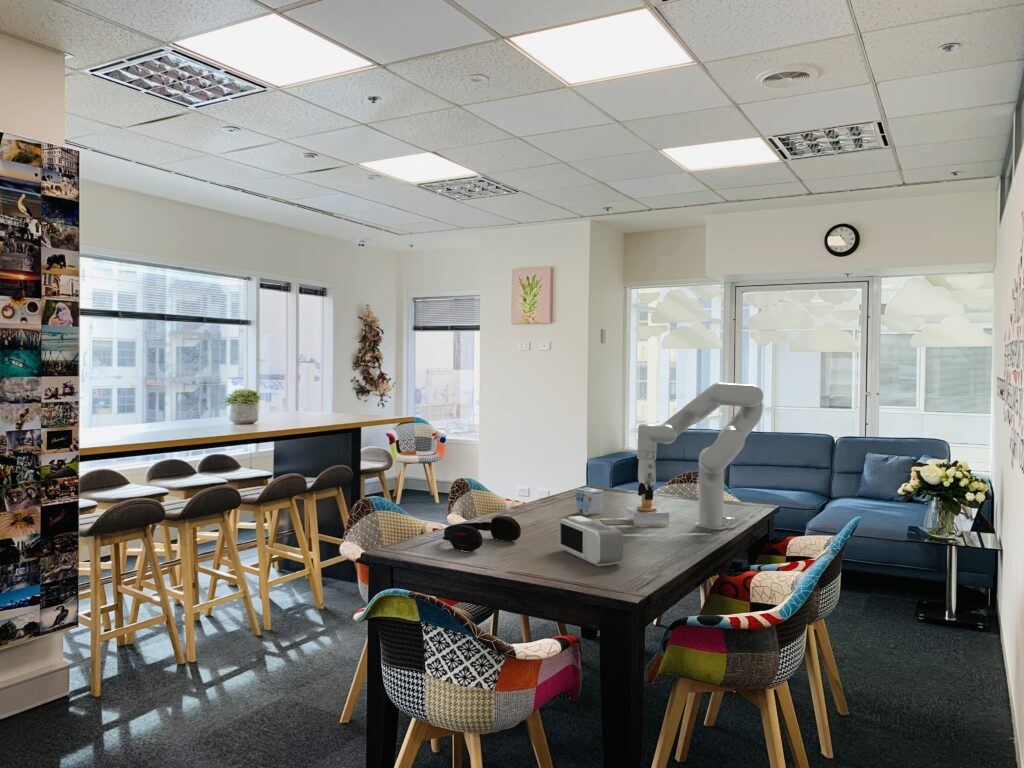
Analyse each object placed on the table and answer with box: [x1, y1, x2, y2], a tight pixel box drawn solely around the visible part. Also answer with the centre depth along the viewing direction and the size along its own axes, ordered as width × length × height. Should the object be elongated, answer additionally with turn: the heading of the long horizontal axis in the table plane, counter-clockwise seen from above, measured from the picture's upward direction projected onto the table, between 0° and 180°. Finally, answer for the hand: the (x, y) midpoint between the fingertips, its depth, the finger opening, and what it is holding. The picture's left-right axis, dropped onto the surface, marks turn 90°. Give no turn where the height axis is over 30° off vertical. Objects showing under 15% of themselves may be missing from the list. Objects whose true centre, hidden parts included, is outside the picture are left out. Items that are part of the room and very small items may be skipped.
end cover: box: [636, 494, 657, 512], centre depth 310 cm, size 8×8×11 cm
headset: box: [442, 515, 522, 552], centre depth 273 cm, size 28×26×9 cm
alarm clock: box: [557, 515, 624, 567], centre depth 255 cm, size 27×9×12 cm, turn 23°
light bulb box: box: [575, 486, 604, 517], centre depth 333 cm, size 11×7×11 cm, turn 37°
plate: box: [592, 506, 674, 529], centre depth 310 cm, size 28×18×6 cm, turn 96°
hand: (645, 497), depth 311 cm, fingers open, 9 cm apart
